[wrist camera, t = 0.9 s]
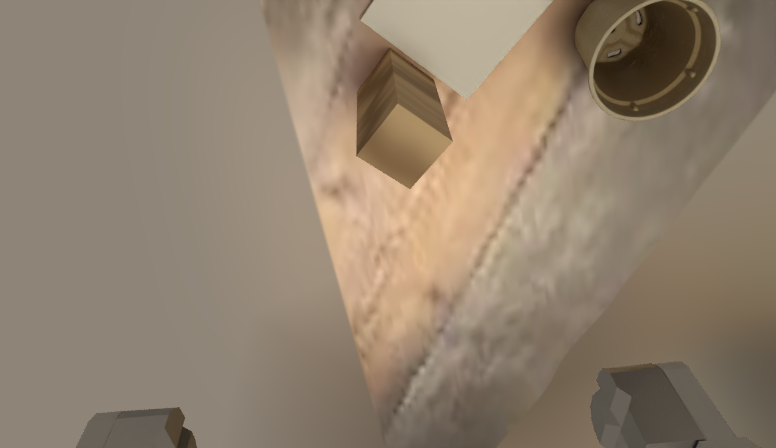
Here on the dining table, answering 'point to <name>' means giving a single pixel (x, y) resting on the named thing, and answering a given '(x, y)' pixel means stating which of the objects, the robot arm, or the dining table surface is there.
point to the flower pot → (647, 54)
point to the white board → (454, 34)
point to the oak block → (400, 120)
